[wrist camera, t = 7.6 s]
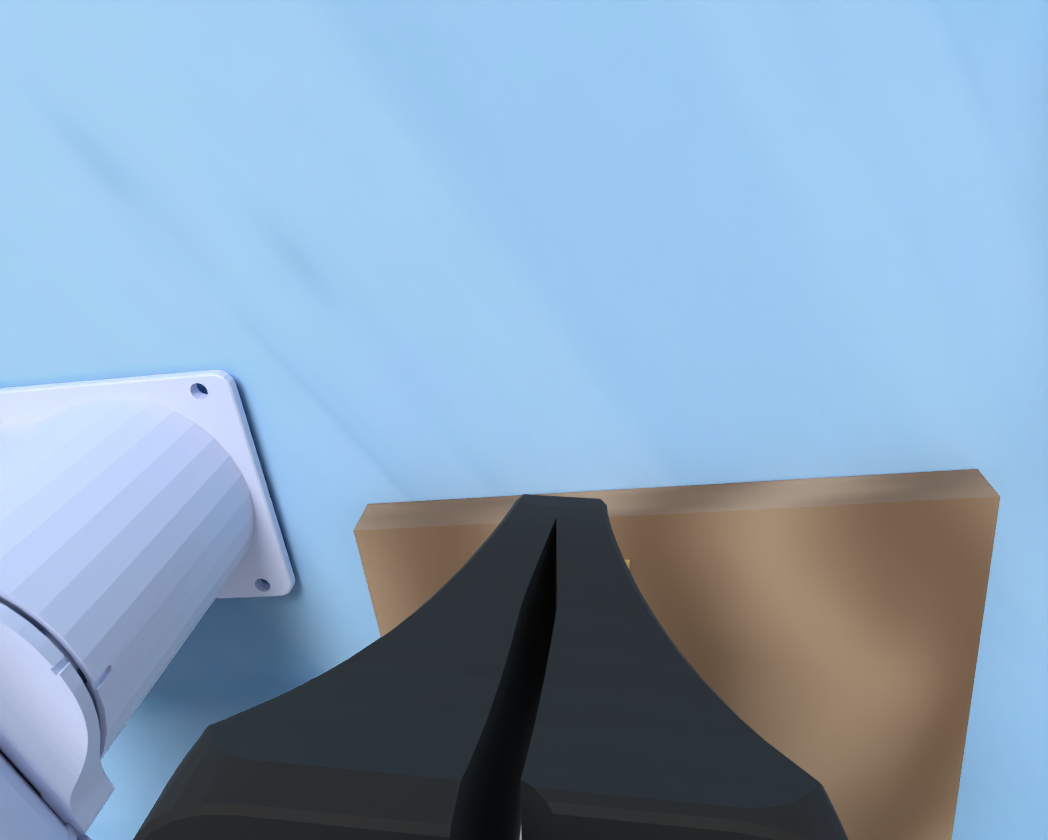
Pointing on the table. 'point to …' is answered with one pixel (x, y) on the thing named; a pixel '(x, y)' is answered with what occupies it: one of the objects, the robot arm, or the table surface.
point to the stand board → (784, 614)
